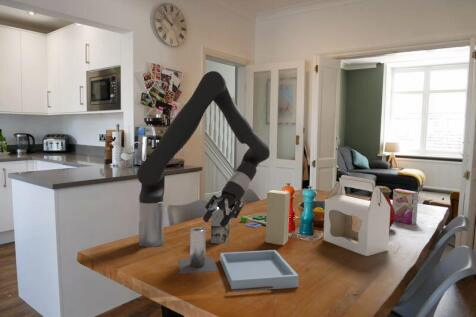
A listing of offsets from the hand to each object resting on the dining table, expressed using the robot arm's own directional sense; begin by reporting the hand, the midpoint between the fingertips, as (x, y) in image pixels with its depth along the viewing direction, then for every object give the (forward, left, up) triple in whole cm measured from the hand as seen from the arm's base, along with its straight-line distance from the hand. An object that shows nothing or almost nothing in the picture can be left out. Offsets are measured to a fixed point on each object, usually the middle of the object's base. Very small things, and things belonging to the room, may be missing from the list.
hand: (213, 223), depth 118 cm
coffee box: (+6, +23, -14) cm, 28 cm away
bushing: (-6, -4, -13) cm, 15 cm away
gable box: (+59, +9, -14) cm, 62 cm away
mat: (-6, -4, -14) cm, 15 cm away
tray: (+12, -12, -14) cm, 22 cm away
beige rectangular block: (+29, +18, -14) cm, 37 cm away
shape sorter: (+36, +51, -15) cm, 64 cm away
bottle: (+84, +30, -14) cm, 91 cm away
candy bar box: (+104, +38, -14) cm, 112 cm away
